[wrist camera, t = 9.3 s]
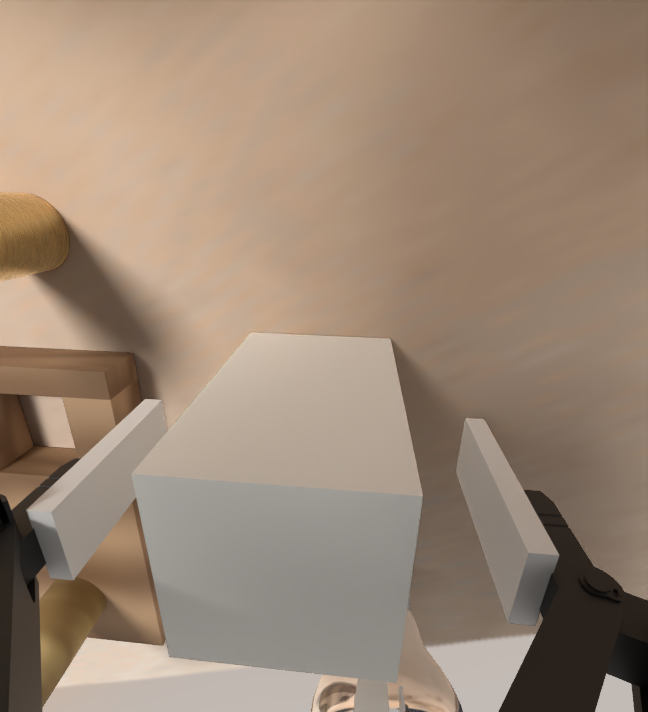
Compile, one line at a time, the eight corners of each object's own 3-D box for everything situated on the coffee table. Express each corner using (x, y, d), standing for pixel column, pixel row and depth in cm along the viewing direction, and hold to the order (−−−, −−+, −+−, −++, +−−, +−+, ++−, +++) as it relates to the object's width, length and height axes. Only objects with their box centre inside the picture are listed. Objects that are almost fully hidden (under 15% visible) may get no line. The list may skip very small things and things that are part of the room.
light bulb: (455, 551, 24) (538, 859, 13) (402, 617, 26) (432, 921, 15) (352, 509, 23) (344, 791, 12) (308, 581, 26) (268, 867, 15)
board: (-40, 344, 21) (-472, 497, 10) (133, 352, 21) (-133, 529, 10) (49, 595, 29) (-145, 841, 18) (179, 609, 28) (60, 875, 17)
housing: (250, 332, 20) (131, 473, 9) (390, 338, 19) (422, 495, 9) (257, 448, 22) (169, 657, 12) (380, 456, 22) (396, 682, 11)
